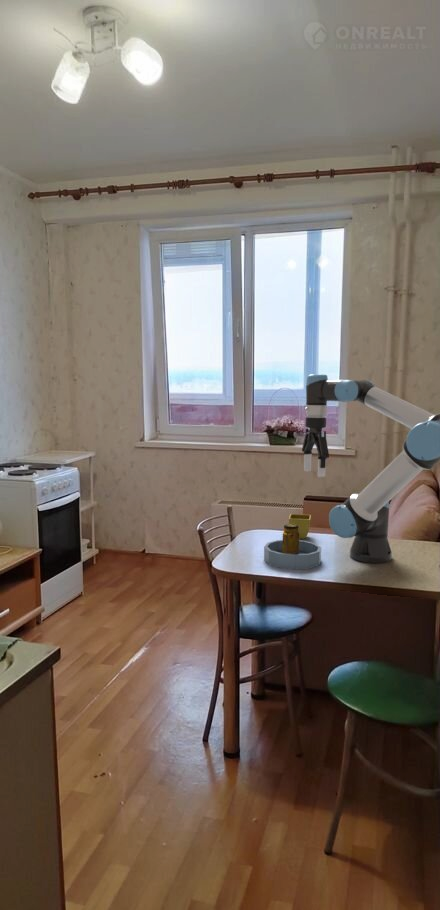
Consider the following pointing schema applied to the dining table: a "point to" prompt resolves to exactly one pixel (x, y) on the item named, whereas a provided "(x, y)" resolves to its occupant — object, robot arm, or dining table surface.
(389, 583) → the dining table surface
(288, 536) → the condiment
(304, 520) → the flower pot
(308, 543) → the bowl
